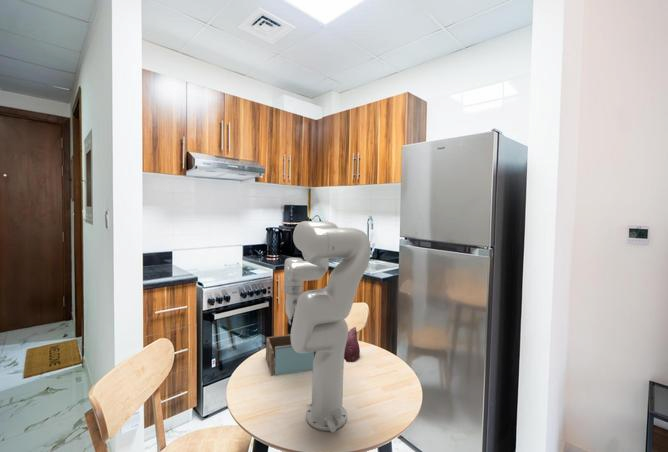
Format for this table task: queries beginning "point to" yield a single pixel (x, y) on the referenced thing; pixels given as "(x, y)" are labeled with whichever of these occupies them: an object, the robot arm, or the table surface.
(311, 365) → the light blue panel
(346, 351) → the vegetable
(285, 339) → the box
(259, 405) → the table surface
